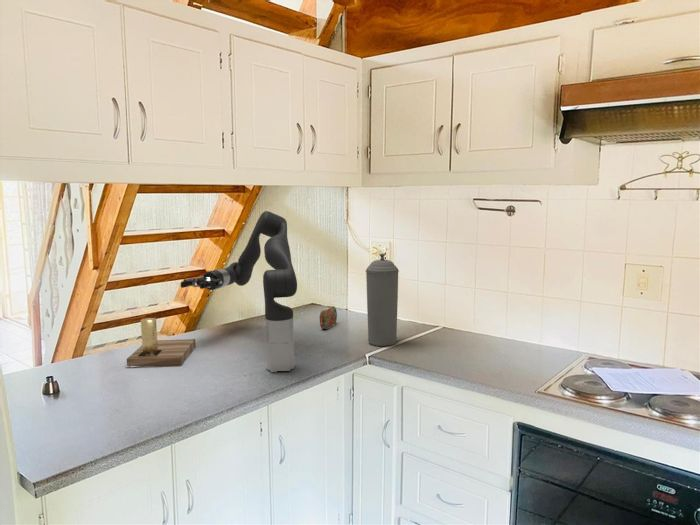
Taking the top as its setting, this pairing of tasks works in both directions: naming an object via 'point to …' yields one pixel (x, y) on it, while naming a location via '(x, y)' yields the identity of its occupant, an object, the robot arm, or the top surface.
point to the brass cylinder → (149, 337)
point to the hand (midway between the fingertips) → (191, 285)
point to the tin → (328, 317)
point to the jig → (164, 354)
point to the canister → (382, 302)
